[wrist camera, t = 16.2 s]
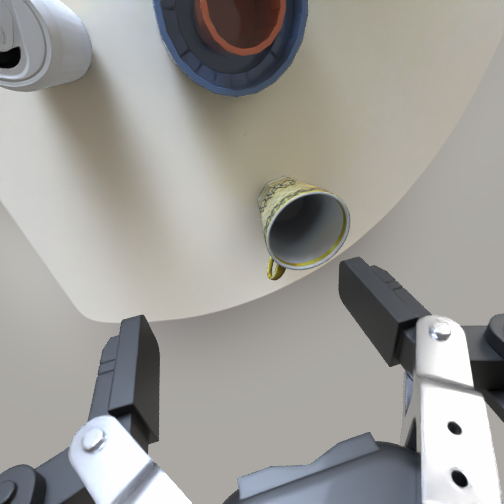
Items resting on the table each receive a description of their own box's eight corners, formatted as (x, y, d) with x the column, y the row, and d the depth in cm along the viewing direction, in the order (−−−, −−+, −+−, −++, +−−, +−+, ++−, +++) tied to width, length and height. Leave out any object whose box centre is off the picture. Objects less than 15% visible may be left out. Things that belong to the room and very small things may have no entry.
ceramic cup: (268, 150, 38) (297, 176, 30) (327, 181, 42) (367, 211, 34) (224, 235, 43) (238, 277, 35) (281, 255, 47) (306, 296, 39)
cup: (201, 60, 31) (211, 61, 24) (184, -25, 27) (190, -52, 20) (262, 49, 31) (288, 48, 25) (254, -35, 28) (282, -63, 21)
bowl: (177, 101, 33) (178, 108, 28) (132, -73, 25) (127, -98, 21) (292, 79, 34) (310, 83, 30) (283, -90, 27) (305, -117, 23)
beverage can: (13, 66, 28) (-69, 71, 18) (12, -20, 25) (-84, -68, 15) (90, 92, 30) (54, 108, 20) (97, 17, 27) (61, -6, 18)
